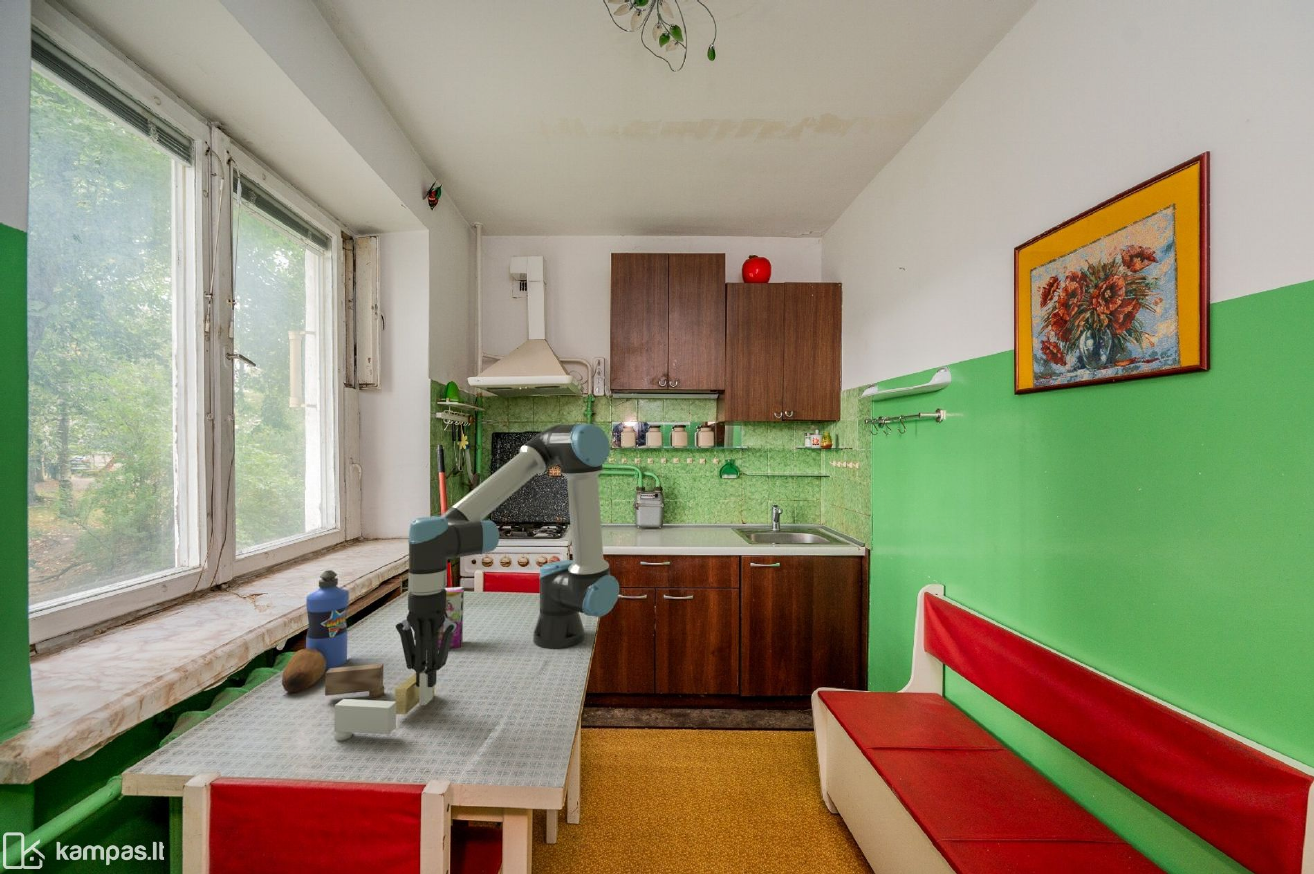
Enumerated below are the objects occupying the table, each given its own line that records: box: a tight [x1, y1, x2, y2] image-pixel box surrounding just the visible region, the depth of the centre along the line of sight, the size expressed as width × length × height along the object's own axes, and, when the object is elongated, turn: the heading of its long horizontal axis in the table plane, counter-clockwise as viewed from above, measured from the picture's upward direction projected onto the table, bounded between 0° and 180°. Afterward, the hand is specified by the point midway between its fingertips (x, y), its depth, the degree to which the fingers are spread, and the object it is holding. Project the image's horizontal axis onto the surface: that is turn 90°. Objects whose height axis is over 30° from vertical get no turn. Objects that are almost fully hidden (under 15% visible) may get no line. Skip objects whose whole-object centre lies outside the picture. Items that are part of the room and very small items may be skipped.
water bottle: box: [305, 570, 350, 675], centre depth 131 cm, size 9×9×25 cm
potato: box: [281, 647, 326, 694], centre depth 120 cm, size 8×13×8 cm
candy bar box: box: [438, 586, 465, 650], centre depth 145 cm, size 11×5×16 cm, turn 108°
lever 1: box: [324, 662, 385, 699], centre depth 113 cm, size 12×3×7 cm, turn 104°
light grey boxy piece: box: [333, 698, 397, 742], centre depth 97 cm, size 12×3×7 cm, turn 85°
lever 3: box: [394, 666, 436, 715], centre depth 109 cm, size 12×3×7 cm, turn 174°
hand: (425, 701), depth 107 cm, fingers closed
